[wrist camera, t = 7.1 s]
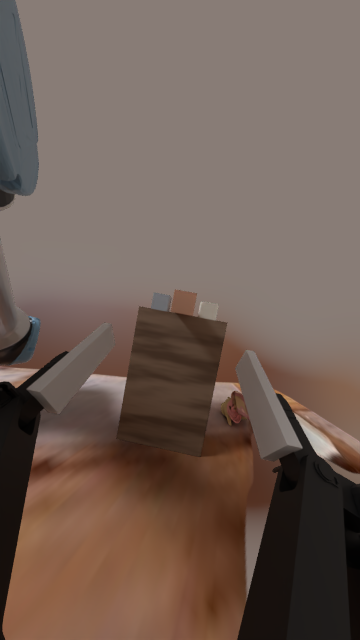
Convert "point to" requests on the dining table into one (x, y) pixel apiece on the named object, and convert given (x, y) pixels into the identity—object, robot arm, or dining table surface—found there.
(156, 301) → the slate cube
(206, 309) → the cream cube
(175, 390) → the walnut stand
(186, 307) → the terracotta stick
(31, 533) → the dining table surface
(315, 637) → the robot arm
